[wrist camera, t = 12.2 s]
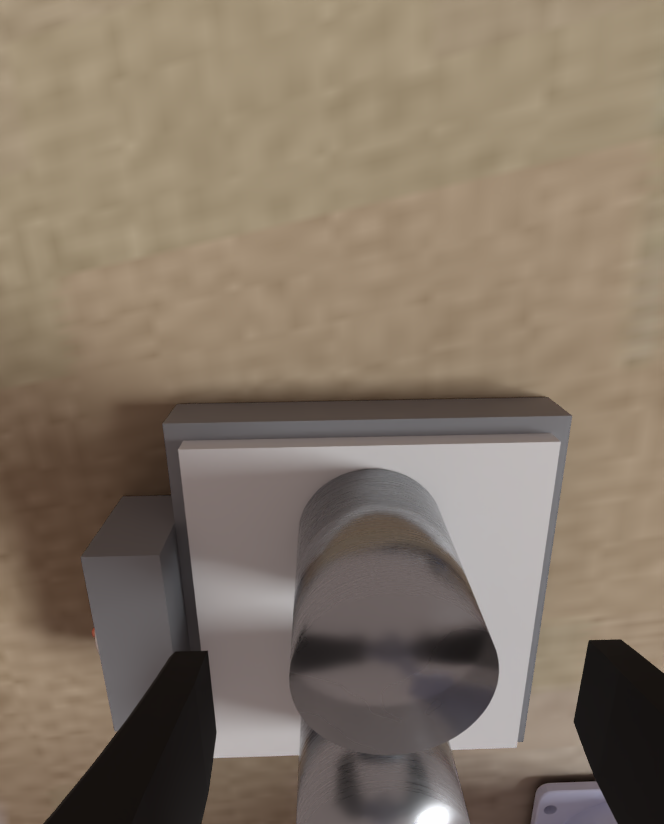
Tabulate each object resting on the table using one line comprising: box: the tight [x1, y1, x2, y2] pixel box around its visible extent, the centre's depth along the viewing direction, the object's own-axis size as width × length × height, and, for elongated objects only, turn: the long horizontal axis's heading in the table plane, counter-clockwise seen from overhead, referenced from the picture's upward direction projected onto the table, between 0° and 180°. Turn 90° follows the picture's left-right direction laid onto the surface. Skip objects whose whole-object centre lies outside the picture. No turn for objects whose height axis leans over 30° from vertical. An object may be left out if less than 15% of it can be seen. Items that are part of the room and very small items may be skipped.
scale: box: [81, 397, 572, 758], centre depth 17 cm, size 12×13×3 cm
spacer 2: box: [296, 717, 470, 824], centre depth 14 cm, size 4×4×5 cm
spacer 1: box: [289, 469, 499, 755], centre depth 13 cm, size 4×4×5 cm
